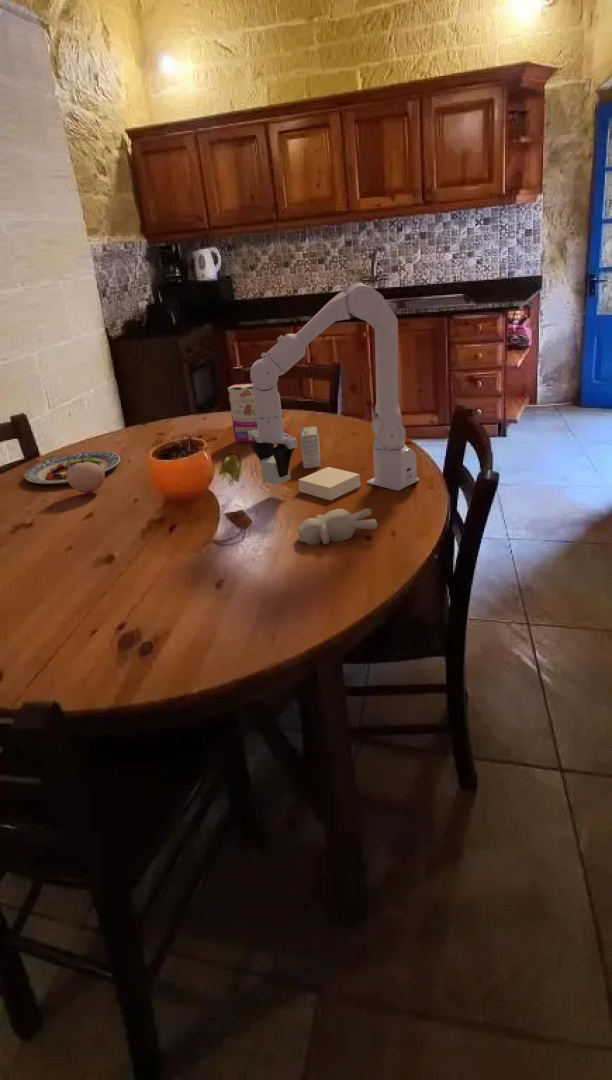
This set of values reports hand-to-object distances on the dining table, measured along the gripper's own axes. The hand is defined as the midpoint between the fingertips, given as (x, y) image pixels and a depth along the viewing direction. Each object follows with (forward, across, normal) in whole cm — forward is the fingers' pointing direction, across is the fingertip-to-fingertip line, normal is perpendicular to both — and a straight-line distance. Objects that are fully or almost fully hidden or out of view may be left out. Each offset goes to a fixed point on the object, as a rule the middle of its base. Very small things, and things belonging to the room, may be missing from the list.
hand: (276, 473), depth 151 cm
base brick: (+5, +8, +9) cm, 13 cm away
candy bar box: (+5, -39, +26) cm, 47 cm away
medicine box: (+5, -9, +20) cm, 22 cm away
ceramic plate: (+5, -63, -20) cm, 66 cm away
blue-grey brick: (+2, 0, 0) cm, 2 cm away
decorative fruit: (+5, -42, -26) cm, 50 cm away
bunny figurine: (+6, +27, -9) cm, 29 cm away
